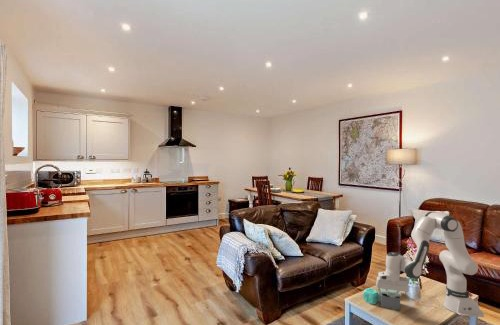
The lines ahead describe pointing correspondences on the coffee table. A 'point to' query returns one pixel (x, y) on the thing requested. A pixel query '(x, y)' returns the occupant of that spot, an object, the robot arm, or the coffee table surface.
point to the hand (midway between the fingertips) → (391, 295)
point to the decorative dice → (370, 296)
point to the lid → (392, 293)
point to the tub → (389, 301)
